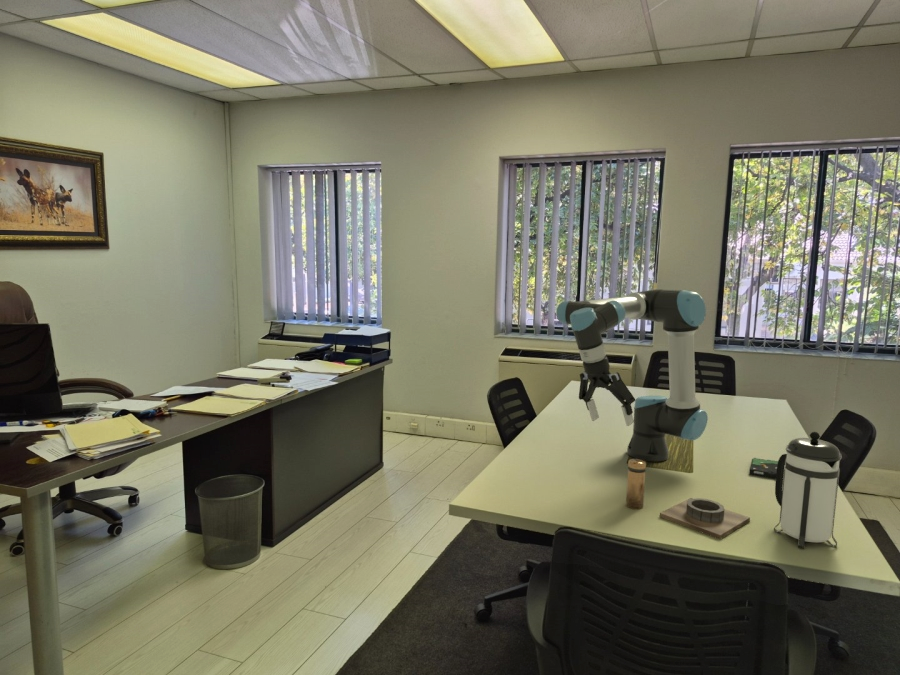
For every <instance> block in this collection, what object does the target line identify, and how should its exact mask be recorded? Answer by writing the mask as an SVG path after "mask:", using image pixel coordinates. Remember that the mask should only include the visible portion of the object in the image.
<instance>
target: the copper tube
mask: <svg viewBox="0 0 900 675" xmlns="http://www.w3.org/2000/svg"><path fill="white" fill-rule="evenodd" d="M646 466H647V461H644V460H639V459H635V458H631V459H629V460H628V463H627V482H626V485H627V486H626V500H625V506H626V507H627V508H629V509H630V510H641V509H643V508H644V501H645V500H644V498H645V485H646V484H645V483H646V482H645V481H646V471H647V468H646Z"/></svg>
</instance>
